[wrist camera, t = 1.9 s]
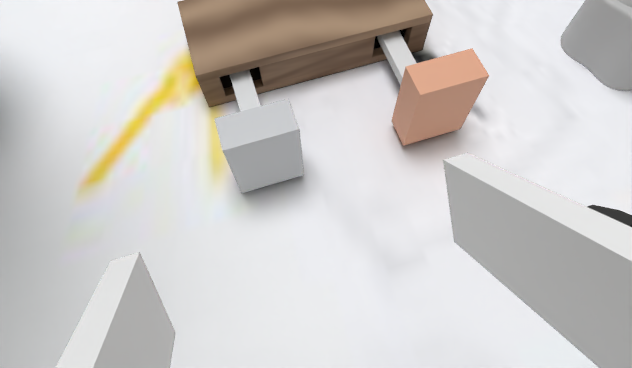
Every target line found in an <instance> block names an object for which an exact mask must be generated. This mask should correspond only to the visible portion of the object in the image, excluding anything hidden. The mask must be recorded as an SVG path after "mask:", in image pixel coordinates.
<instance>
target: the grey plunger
mask: <svg viewBox="0 0 632 368" xmlns="http://www.w3.org/2000/svg"><path fill="white" fill-rule="evenodd" d="M229 75H230V78H231V81H232V85H233V88H234V92H235V95H236V99H237V102H238V105H239V109H240V112H237V113H233V114H229V115H226V116H222V117H218V118H215V123H216V127H217V131H218V134H219V138H220V142H221V146H222V150H223V152H224V155H225V157H226V159H227V161H228V164H229V166H230V168H231V170H232V173H233V175H234V177H235V179H236V182H237V184H238V186H239V188H240V191H241V193H245V192H248V191H251V190H255V189H258V188H262V187H265V186H268V185H272V184H275V183H278V182H282V181H285V180H289V179H292V178H295V177H299V176H302V175H304V170H303V160H302V150H301V140H300V130H299V127H298V124H297V121H296V118H295V115H294V113H293V110H292V107H291V104H290V101H289V99H285V100H281V101H277V102H273V103H270V104H266V105H262V106H261V105H260V102H259V99H258V96H257V93H256V89H255V86H254V83H253V80H252V77H251V74H250V71H249V70H245V71H241V72H237V73H233V74H229Z"/></svg>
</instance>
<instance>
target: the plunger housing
mask: <svg viewBox="0 0 632 368" xmlns="http://www.w3.org/2000/svg"><path fill="white" fill-rule="evenodd" d="M178 6H179V10H180V14H181V18H182V22H183V26H184V30H185V34H186V38H187V42H188V46H189V50H190V54H191V58H192V63H193V67H194V71H195V75H196V77H197V80H198V82H199V84H200V87H201V89H202V92H203V94H204V96H205V99H206V101H207V103H208V106H209V107H211V106H215V105H219V104H222V103H226V102H230V101H233V100H237V99H236V95H235V92H234V88H233V86H232V87H228V88H223V85H222V82H221V79H220V77H222V76H226V75H229V74H233V73H237V72H241V71H245V70H249V69H252V68H256V67H259V71H260V76H261V79H258V80H254V81H253V83H254V86H255V89H256V93H257V94H259V93H263V92H267V91H271V90H274V89H278V88H282V87H286V86H289V85H293V84H297V83H300V82H304V81H308V80H312V79H315V78H319V77H323V76H326V75H330V74H334V73H338V72H341V71H345V70H349V69H353V68H356V67H360V66H364V65H367V64H371V63H375V62H379V61H382V60H386V59H387V58H386V56H385V54H384V52H383V50H382V48H381V47H379V48H375V49H374V42H375V36H379V35H382V34H386V33H390V32H394V31H398V30H402V31H403V33H404V35H405V37H404V41H405V43H406V45H407V46H408V48H409V50H410V52H411V53H412V52H416V51H420V50H422V49H423V46H424V42H425V39H426V36H427V32H428V29H429V26H430V22H431V19H432V15H433V14H432V12H431V10H430V9H429V7H428V5H427V4H426V2H425V0H184V1H179V2H178Z"/></svg>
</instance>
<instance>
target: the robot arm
mask: <svg viewBox="0 0 632 368" xmlns="http://www.w3.org/2000/svg"><path fill="white" fill-rule="evenodd" d="M443 161H444V169H445V177H446V184H447V192H448V199H449V207H450V214H451V222H452V230H453V237H454V242H455V243H456V244H457V245H459V246H460V247H461V248H462V249H463V250H464V251H465V252H467V253H468V254H469V255H470V256H471V257H472V258H473V259H475V260H476V261H477V262H478V263H479V264H480V265H482V266H483V267H484V268H485V269H486V270H487V271H488V272H490V273H491V274H492V275H493V276H494V277H495V278H497V279H498V280H499V281H500V282H501V283H502V284H503V285H505V286H506V287H507V288H508V289H509V290H510V291H511V292H513V293H514V294H515V295H516V296H517V297H518V298H520V299H521V300H522V301H523V302H524V303H525V304H526V305H528V306H529V307H530V308H531V309H532V310H533V311H535V312H536V313H537V314H538V315H539V316H540V317H541V318H543V319H544V320H545V321H546V322H547V323H548V324H549V325H551V326H552V327H553V328H554V329H555V330H556V331H558V332H559V333H560V334H561V335H562V336H563V337H564V338H566V339H567V340H568V341H569V342H570V343H571V344H573V345H574V346H575V347H576V348H577V349H578V350H579V351H581V352H582V353H583V354H584V355H585V356H586V357H587V358H589V359H590V360H591V361H592V362H593V363H594V364H596V365H597V366H598V367H599V368H632V215H630V214H627V213H625V212H623V211H620V210H615V209H610V208H605V207H601V206H596V205H591V206H588V207H586V206H584V205H582V204H579V203H577V202H575V201H573V200H571V199H568V198H566V197H564V196H562V195H560V194H557V193H555V192H553V191H551V190H549V189H546V188H544V187H542V186H540V185H538V184H535V183H533V182H531V181H529V180H527V179H524V178H522V177H520V176H518V175H516V174H513V173H511V172H509V171H507V170H505V169H502V168H500V167H498V166H496V165H494V164H491V163H489V162H487V161H485V160H483V159H480V158H478V157H476V156H474V155H472V154H470V153H464V154H461V155H458V156H454V157H451V158H448V159H445V160H443ZM174 339H175V331H174V328H173V326H172V324H171V322H170V319H169V317H168V315H167V313H166V310H165V308H164V306H163V304H162V301H161V299H160V297H159V295H158V292H157V290H156V288H155V285H154V283H153V281H152V279H151V276H150V274H149V272H148V270H147V267H146V265H145V263H144V261H143V258H142V256H141V254H140V252H137V253H134V254H131V255H128V256H124V257H121V258H118V259H114V260H111V261H110V263H109V265H108V267H107V269H106V270H105V272H104V274H103V276H102V278H101V280H100V282H99V284H98V286H97V288H96V290H95V292H94V294H93V296H92V298H91V299H90V301H89V303H88V305H87V307H86V309H85V311H84V313H83V315H82V317H81V319H80V321H79V323H78V325H77V327H76V329H75V330H74V332H73V334H72V336H71V338H70V340H69V342H68V344H67V346H66V348H65V350H64V352H63V354H62V356H61V358H60V359H59V361H58V363H57V365H56V367H55V368H170V363H171V357H172V351H173V345H174Z"/></svg>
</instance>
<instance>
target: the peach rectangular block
mask: <svg viewBox="0 0 632 368" xmlns="http://www.w3.org/2000/svg"><path fill="white" fill-rule="evenodd" d="M377 40H378V42H379V44H380V46H381V48H382V50H383V52H384V54H385V56H386V58H387V59H388V61H389V63H390V65H391V67H392V69H393V71H394V73H395V75H396V77H397V79H398V81H399V83H400V85H401V86H400V90H399V94H398V98H397V102H396V105H395V109H394V113H393V117H392V123H393V125H394V127H395V129H396V131H397V133H398V136H399V138H400V140H401V142H402V144H403V146H404V145H408V144H411V143H414V142H418V141H421V140H425V139H428V138H431V137H435V136H438V135H442V134H445V133H448V132H452V131H455V130H458V129H461V127H462V125H463V123H464V121H465V119H466V117H467V116H468V114H469V112H470V110H471V108H472V106H473V105H474V103H475V101H476V99H477V97H478V95H479V93H480V92H481V90H482V88H483V86H484V84H485V82H486V81H487V79H488V77H489V75H488V73H487V71H486V70H485V68H484V67H483V65H482V63H481V62H480V60H479V58H478V57H477V55H476V54H475V52H474V50H473V49H468V50H465V51H461V52H457V53H454V54H450V55H446V56H443V57H439V58H435V59H431V60H428V61H424V62H420V63H416V61H415V59H414V58H413V56H412V54H411V52H410V50H409V48H408V46H407V45H406V43H405V41H404V39H403V37H402V35H401V33H400V32H399V30H398V31H394V32H390V33H386V34H382V35H379V36H377Z"/></svg>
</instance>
